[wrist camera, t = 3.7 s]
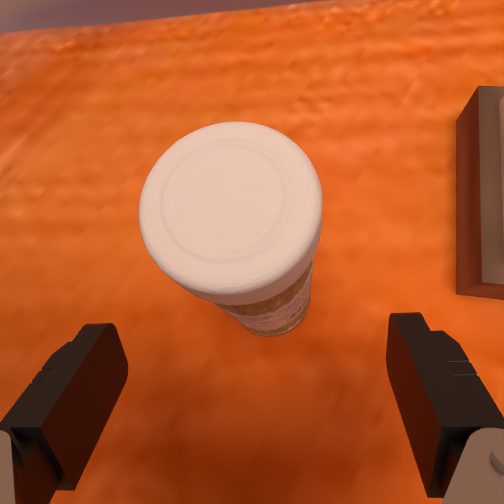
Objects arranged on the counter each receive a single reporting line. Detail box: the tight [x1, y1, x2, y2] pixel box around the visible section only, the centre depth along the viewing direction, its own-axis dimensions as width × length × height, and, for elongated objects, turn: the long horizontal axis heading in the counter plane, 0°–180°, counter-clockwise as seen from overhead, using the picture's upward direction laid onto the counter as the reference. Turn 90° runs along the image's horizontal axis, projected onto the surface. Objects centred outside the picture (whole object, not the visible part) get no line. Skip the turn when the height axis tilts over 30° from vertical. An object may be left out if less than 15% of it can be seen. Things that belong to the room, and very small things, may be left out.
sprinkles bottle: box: [139, 122, 323, 336], centre depth 15 cm, size 5×5×14 cm
